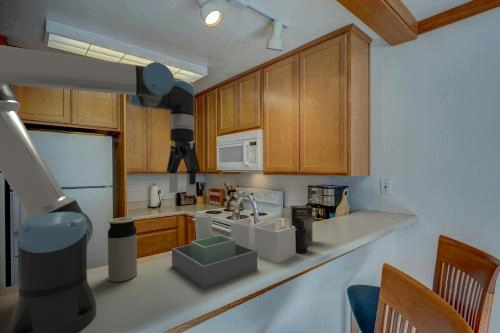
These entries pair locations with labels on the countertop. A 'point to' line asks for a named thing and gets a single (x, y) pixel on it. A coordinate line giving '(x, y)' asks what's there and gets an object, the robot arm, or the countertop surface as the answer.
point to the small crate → (213, 249)
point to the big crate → (214, 265)
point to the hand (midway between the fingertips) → (181, 193)
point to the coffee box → (306, 216)
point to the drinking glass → (203, 226)
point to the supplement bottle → (300, 236)
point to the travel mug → (122, 249)
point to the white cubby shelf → (265, 239)
